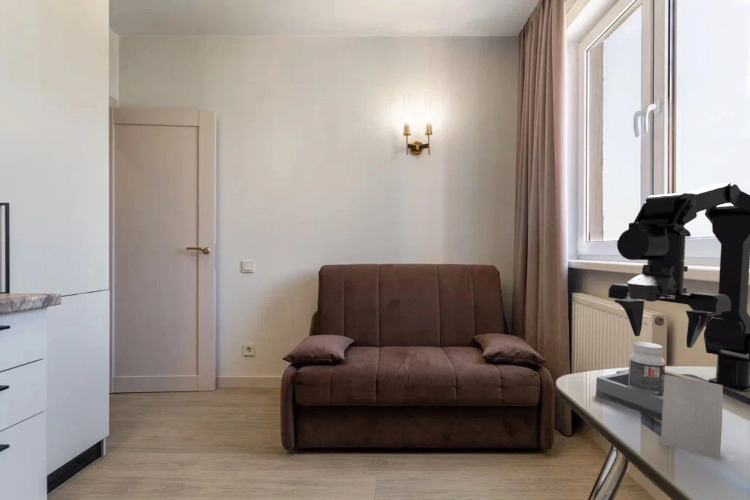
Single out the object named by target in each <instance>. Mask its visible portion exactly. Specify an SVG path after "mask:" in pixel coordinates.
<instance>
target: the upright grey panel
mask: <svg viewBox="0 0 750 500" xmlns="http://www.w3.org/2000/svg"><path fill="white" fill-rule="evenodd" d="M703 381H704V380H702V381H698V380H692V379H687V378H682V377H676V376H671V375H665V378H664V394H663V411H662V420H661V431H660V432H661V433H660V435H661V436H660V445H664V446H668V447H671V448H675V449H679V450H682V451H686V452H689V453H693V454H696V455H697V454H698V455H700V456H703V457H707V458H710V459H711V458H712V459H716V460H721V447H722V432H723V431H722V430H723V399H724V398H723V397H724V396H723V394H724V392H723V391H724V386H723V385H719V384H715V383H711V382H709V381H706V382H703ZM708 382H709V383H708Z"/></svg>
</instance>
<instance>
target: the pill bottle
mask: <svg viewBox="0 0 750 500" xmlns="http://www.w3.org/2000/svg"><path fill="white" fill-rule="evenodd" d="M663 348H664V346H662V345H661V344H658V343H654V342H653V343H652V342H647V341H633V343H632V349H633V351H634V352H633V353H631V354H630V355H629V359H628V360H629V362H628V369H629V377H628V386H629V387H633V388H636V389H639V390H642V391H645V392H648V393H651V394H654V395H657V396H660V397H661V396H663V394H664V378H665V370H666V361H665V359H664V358H663V357H662V356H661V355H662V354H663Z"/></svg>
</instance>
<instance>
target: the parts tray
mask: <svg viewBox="0 0 750 500" xmlns="http://www.w3.org/2000/svg"><path fill="white" fill-rule="evenodd" d="M616 373H617V372H616ZM616 373H613V374H608V375H603V376H602V375H601V376H597V377H596V385H595V387H596V388H595V395H596V396H597V397H600V398H603V399H606V400H608V401H610V402H614V403H617V404H619V405H621V406H623V407H624V406H625V407H627V408H629V409H632V410H635V411H638V412H640V413H643V414H645V415H648V416H651V417H653V418H657V419H659V420H661V421H662V411H663V396H661V397H660V396H657V395H654V394H651V393H648V392H645V391H642V390H639V389H636V388H633V387H629V386H628V377H629V371H628V372H623V373H617V374H616Z"/></svg>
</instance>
